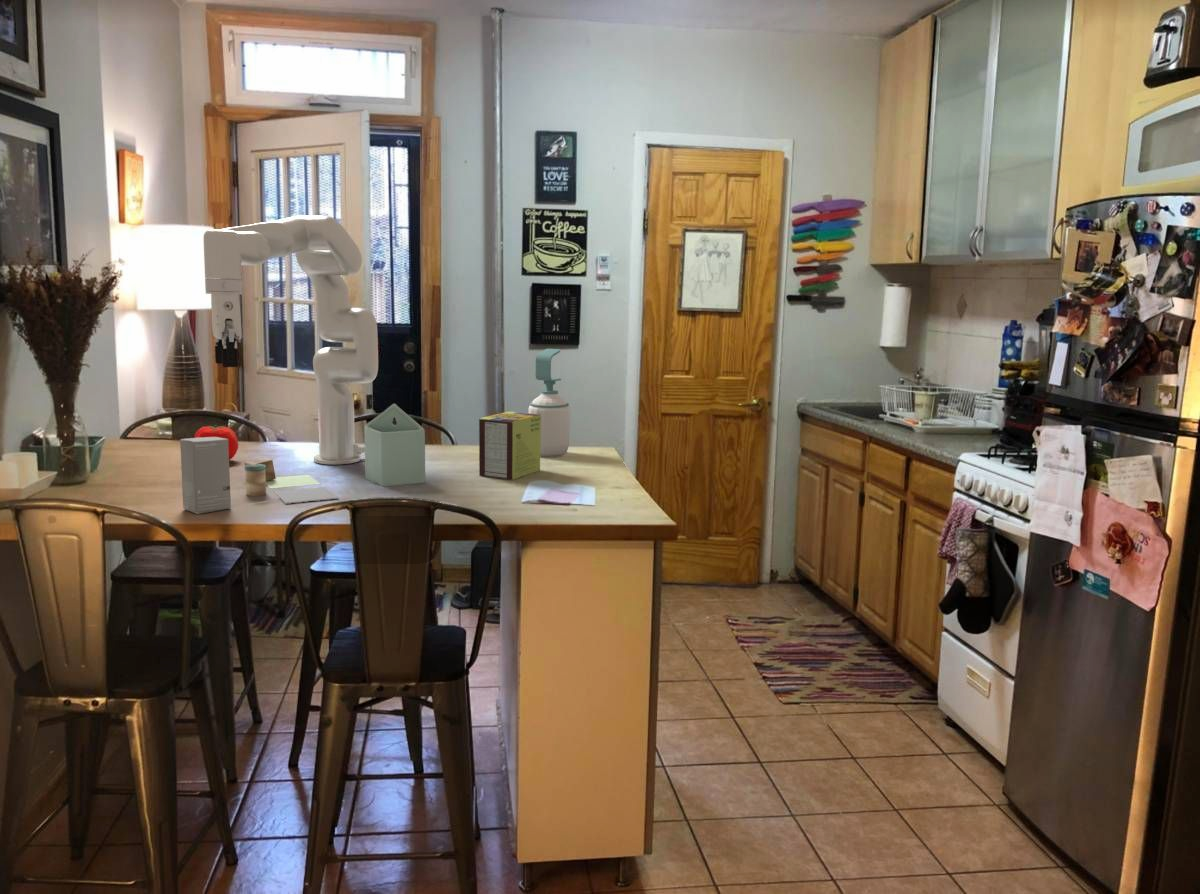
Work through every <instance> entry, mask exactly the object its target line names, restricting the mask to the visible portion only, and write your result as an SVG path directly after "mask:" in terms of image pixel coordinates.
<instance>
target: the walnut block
mask: <svg viewBox="0 0 1200 894" xmlns="http://www.w3.org/2000/svg"><path fill="white" fill-rule="evenodd" d="M273 461H274V460H273V459H271V458H267V457H259V458H256V459H251V460H248V461H244V462H243V463H244V467H245V466H246V465H251V464H263V465H266V469H265V476H266V482H267V481H271V480H274V479H276V472H275V467H274V462H273Z"/></svg>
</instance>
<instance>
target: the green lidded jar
mask: <svg viewBox="0 0 1200 894" xmlns="http://www.w3.org/2000/svg"><path fill="white" fill-rule="evenodd" d="M265 469H266V465H263V464H251V465H246V466H245V465H244V472H245V473H244V474H245V494H246V496H248V497H249V496H250V497H253V496H254V497H255V496H264V495H266V494H267V485H266V476H265Z"/></svg>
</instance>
